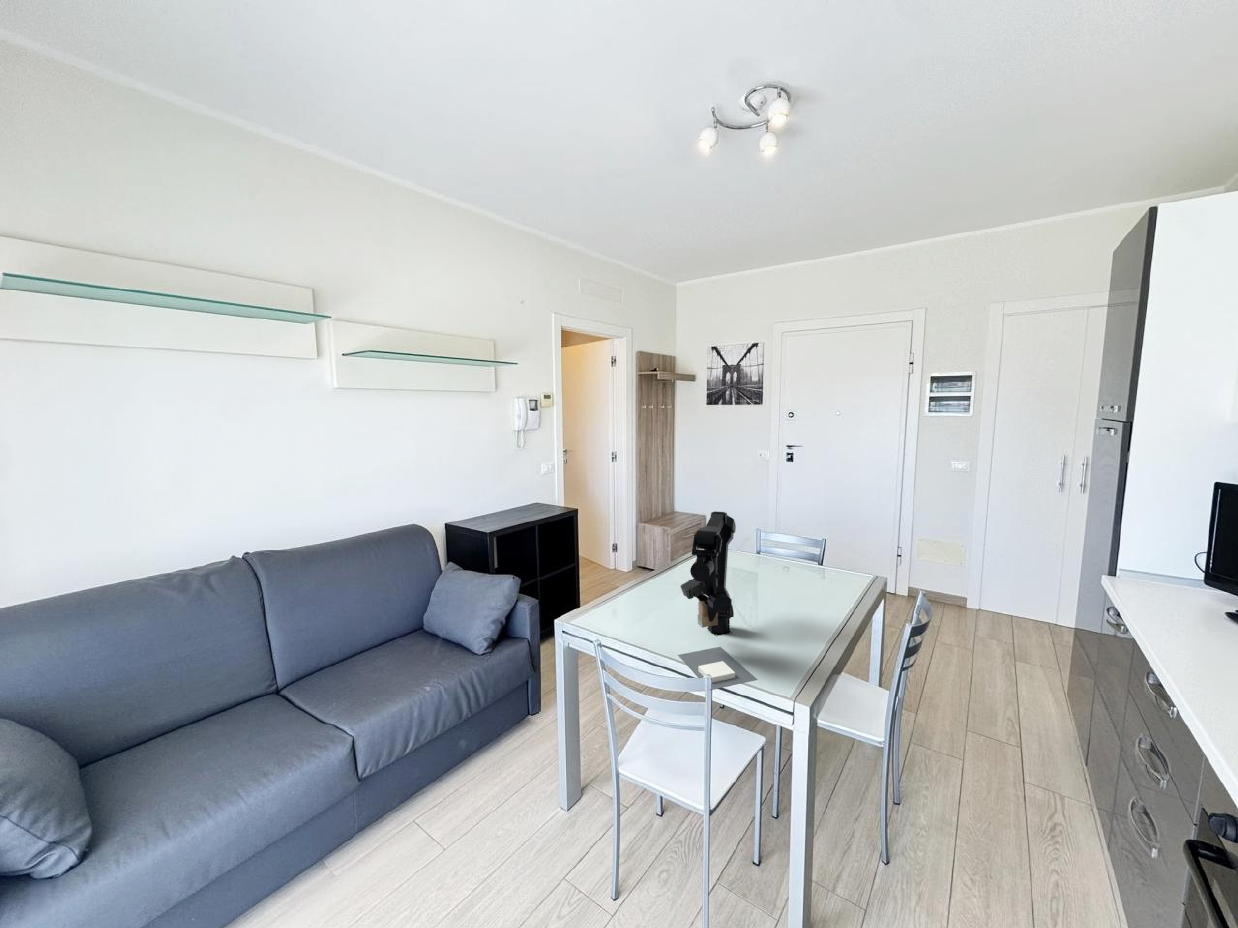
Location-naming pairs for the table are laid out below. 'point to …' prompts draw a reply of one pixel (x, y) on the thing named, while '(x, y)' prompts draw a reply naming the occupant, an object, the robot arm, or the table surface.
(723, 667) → the tile
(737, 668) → the mat
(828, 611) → the table surface
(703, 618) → the block
